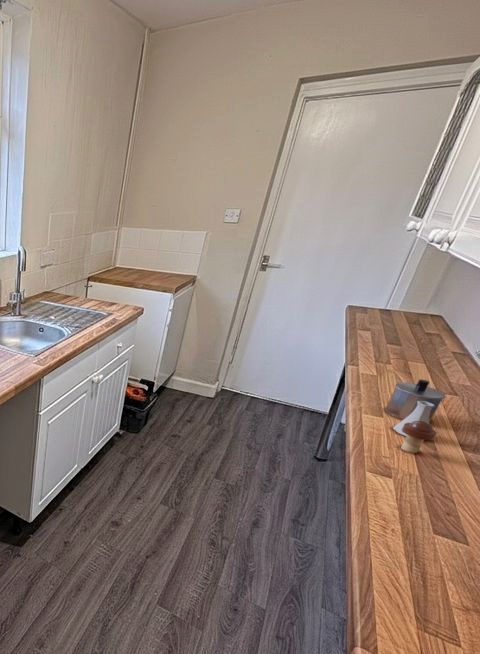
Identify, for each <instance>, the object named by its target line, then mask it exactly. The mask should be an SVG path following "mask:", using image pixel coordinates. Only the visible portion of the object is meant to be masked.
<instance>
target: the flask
mask: <svg viewBox="0 0 480 654" xmlns="http://www.w3.org/2000/svg"><path fill="white" fill-rule="evenodd" d="M417 403H418V405H417V407H416V409H415V410H414V411H413V412H412V413H411V414H410V415H409V416H408V417H406V418H405V419H404V420H401V421H400V422H399V423H397V424H396V425H395V426H393V428H392V429H393V430H395V432H397V434H400V435H402V436H405V437H406V436H407V434H405V433H404V432H402V428H403V426H404V424H405V423H412V422H414V421H424V422H427V423H428V424H430V422H429V415H430V411H431V409H432V407H434V406H435V405H433V404H432V403H429V402H426V401H418V402H417Z"/></svg>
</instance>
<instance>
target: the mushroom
mask: <svg viewBox="0 0 480 654" xmlns="http://www.w3.org/2000/svg"><path fill="white" fill-rule="evenodd" d="M402 432H404V433H405V434H407V436H405V438H404V440H403V442H402V445H401V447H400V449H401V450H402V451H404V452H407V453H409V454H418V452H419V451H420V449H421V447H422V445H423V443H424V442H425V441H433V440H434V439H435V437H436V435H437V431H436V430H435V429H433V426H432V425H431V424H430V423H429V424H428V423H427V422H424V421H414V422H412V423H405V424H404V426H403V428H402Z"/></svg>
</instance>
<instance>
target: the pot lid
mask: <svg viewBox="0 0 480 654" xmlns="http://www.w3.org/2000/svg"><path fill="white" fill-rule="evenodd" d="M429 384H430V381H429V380H426V379H418V381H417V383H412V382H396V383H395V384H394V388H395V387H396V388H397V389H398V390H400V391H402V392H405V393H407V394H410V395H414V396H418V397H422V398H428V399H442V400H443V399H444V400H445V398H446V393H444V392H442V391H440V390H438V389H436V388H434V387H430V386H429Z"/></svg>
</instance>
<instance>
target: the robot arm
mask: <svg viewBox="0 0 480 654" xmlns="http://www.w3.org/2000/svg"><path fill="white" fill-rule="evenodd" d="M474 354H475V355H476V357H477V358H478V359H479V360H480V349H477V350H475V351H474Z"/></svg>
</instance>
